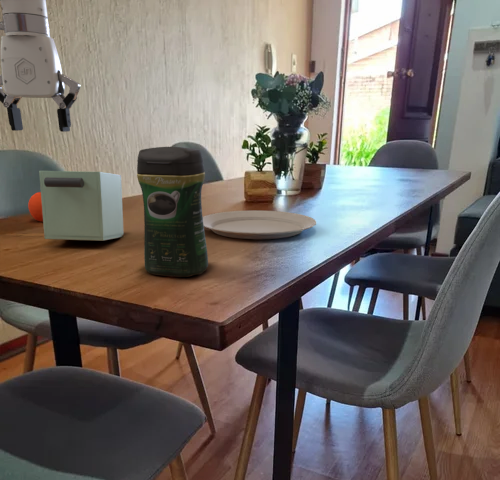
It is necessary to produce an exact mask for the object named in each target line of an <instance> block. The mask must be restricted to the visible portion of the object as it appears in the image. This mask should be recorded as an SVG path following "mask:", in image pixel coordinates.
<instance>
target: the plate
mask: <svg viewBox="0 0 500 480" xmlns="http://www.w3.org/2000/svg"><path fill="white" fill-rule="evenodd" d="M202 216H203V215H202ZM203 225H204V228H206V229H210V230H211V231H212V232H213V233H214V234H216V235H219V236H223V237H227V238H233V239H242V240H276V239H286V238H291V237H294V236H297V235H300V234H301V233H302V232H303V231H305V230H308V229H311V228H313V227H315V226H316V225H317V220H316V219H315V218H313V217H311V216H308V215H304V214H301V213H295V212H288V211H279V210H261V209H260V210H258V209H257V210H255V209H254V210H251V209H250V210H249V209H248V210H231V211H222V212H216V213H215V212H214V213H210V214H206V215H204V216H203Z"/></svg>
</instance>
